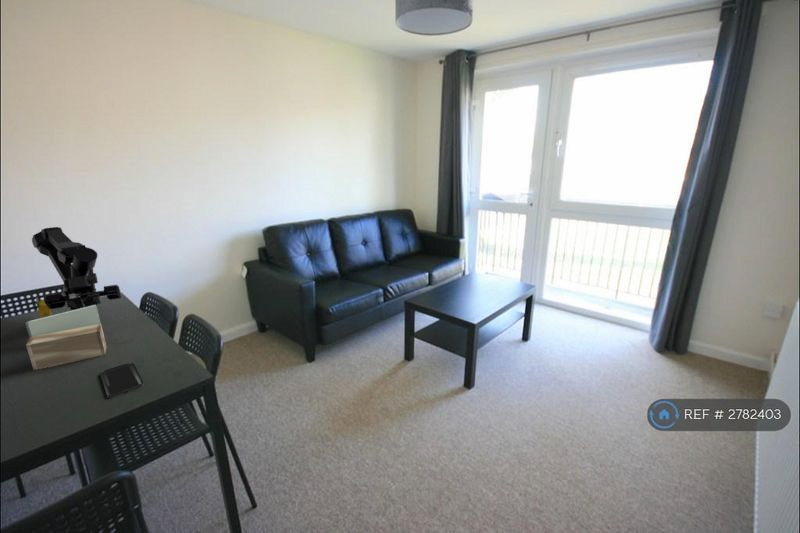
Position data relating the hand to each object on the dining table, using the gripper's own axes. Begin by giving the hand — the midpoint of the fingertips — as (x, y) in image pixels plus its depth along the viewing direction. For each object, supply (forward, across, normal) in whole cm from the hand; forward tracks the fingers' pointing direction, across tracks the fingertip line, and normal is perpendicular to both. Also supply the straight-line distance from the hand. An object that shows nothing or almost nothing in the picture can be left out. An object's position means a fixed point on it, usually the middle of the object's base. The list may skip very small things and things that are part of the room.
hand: (87, 319), depth 118 cm
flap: (+8, -5, +3) cm, 9 cm away
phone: (+28, +8, -16) cm, 34 cm away
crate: (+12, -4, -2) cm, 13 cm away
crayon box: (-7, -13, +18) cm, 23 cm away
